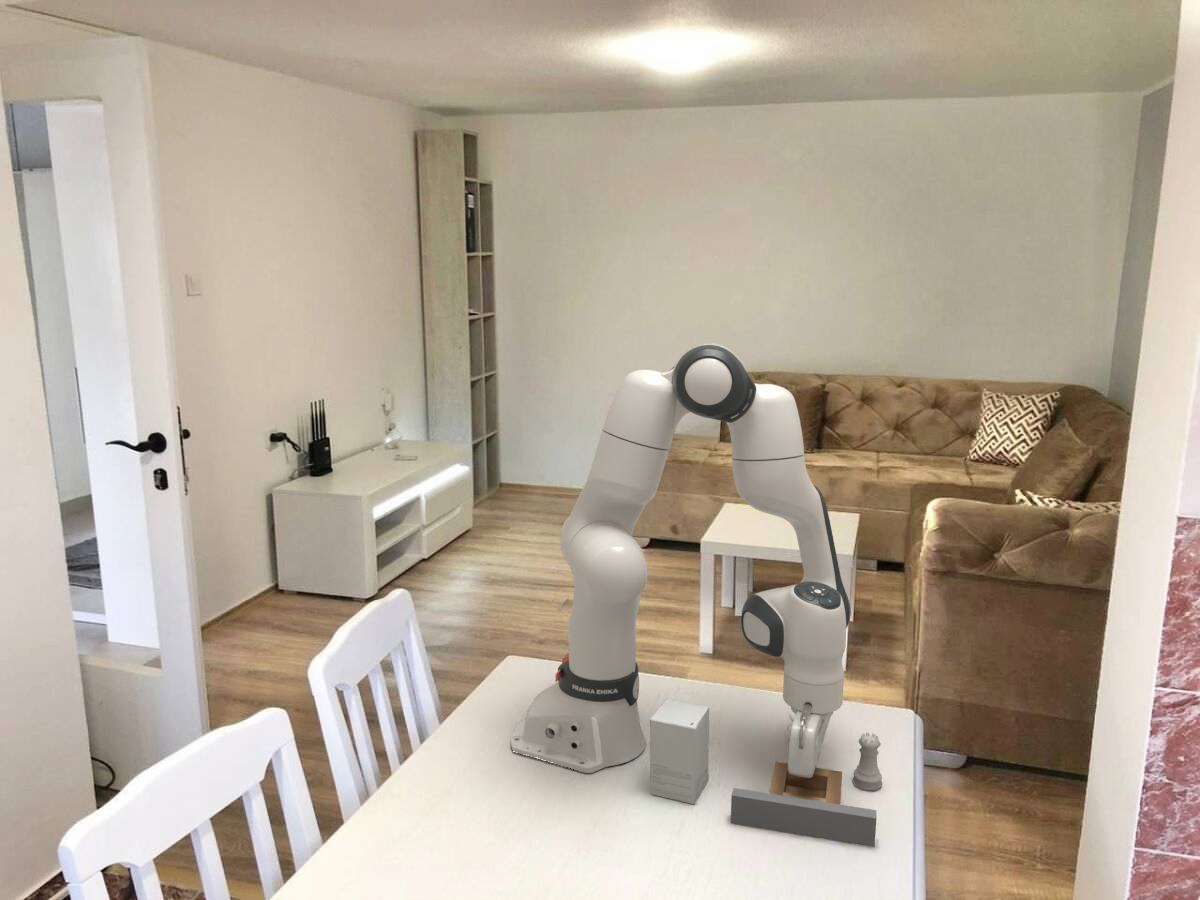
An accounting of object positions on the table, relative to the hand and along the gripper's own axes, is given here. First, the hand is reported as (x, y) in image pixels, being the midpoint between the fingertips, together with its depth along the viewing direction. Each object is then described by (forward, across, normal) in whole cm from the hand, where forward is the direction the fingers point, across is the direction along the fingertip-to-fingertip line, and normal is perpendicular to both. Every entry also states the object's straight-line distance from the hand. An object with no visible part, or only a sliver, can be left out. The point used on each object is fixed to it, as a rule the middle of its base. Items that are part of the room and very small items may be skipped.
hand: (809, 772), depth 144 cm
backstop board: (+2, -12, -1) cm, 12 cm away
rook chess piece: (+2, +4, -8) cm, 9 cm away
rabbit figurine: (+2, +14, +4) cm, 15 cm away
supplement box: (+2, -8, +18) cm, 20 cm away
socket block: (+2, -6, 0) cm, 7 cm away
